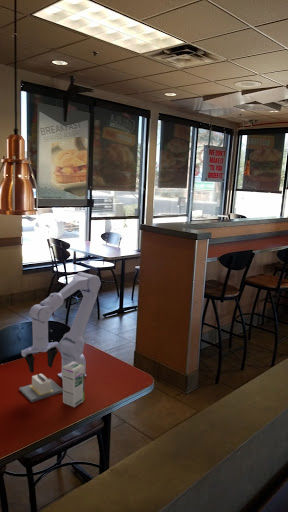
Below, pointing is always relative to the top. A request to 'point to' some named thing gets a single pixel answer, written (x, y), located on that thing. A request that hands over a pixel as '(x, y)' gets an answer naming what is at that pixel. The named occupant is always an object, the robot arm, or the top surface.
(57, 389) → the board
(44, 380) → the block
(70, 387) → the syrup box
